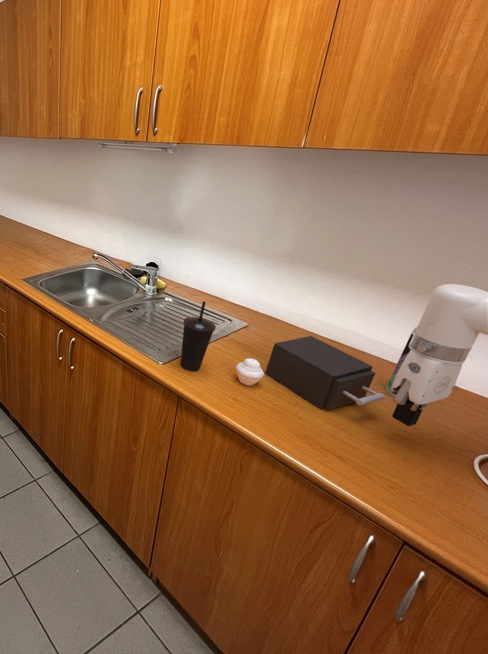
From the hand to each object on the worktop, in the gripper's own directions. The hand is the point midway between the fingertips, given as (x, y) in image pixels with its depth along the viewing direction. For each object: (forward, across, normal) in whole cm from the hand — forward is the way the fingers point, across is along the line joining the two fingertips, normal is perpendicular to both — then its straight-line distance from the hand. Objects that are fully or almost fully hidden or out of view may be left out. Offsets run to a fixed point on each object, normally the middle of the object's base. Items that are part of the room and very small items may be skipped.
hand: (403, 420), depth 83 cm
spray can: (+5, +18, +10) cm, 21 cm away
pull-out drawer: (+3, 0, +14) cm, 15 cm away
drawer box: (+4, 0, +18) cm, 19 cm away
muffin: (+4, -14, +24) cm, 29 cm away
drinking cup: (+4, -24, +34) cm, 42 cm away
